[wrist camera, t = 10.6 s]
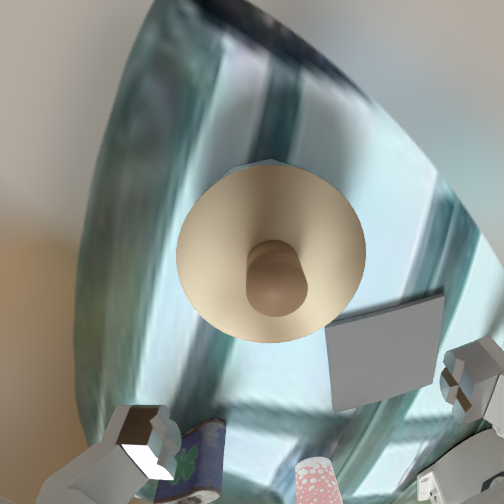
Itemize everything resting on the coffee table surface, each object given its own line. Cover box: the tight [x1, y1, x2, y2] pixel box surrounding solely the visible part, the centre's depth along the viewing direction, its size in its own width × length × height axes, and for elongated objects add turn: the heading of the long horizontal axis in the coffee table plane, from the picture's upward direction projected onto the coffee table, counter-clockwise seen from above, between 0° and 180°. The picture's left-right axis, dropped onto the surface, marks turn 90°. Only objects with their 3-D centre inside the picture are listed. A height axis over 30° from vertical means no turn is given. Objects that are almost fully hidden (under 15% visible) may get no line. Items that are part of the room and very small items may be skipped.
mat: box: [324, 293, 445, 413], centre depth 26 cm, size 11×11×1 cm
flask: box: [154, 418, 226, 504], centre depth 25 cm, size 9×3×11 cm, turn 134°
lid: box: [176, 164, 366, 343], centre depth 16 cm, size 10×10×4 cm
